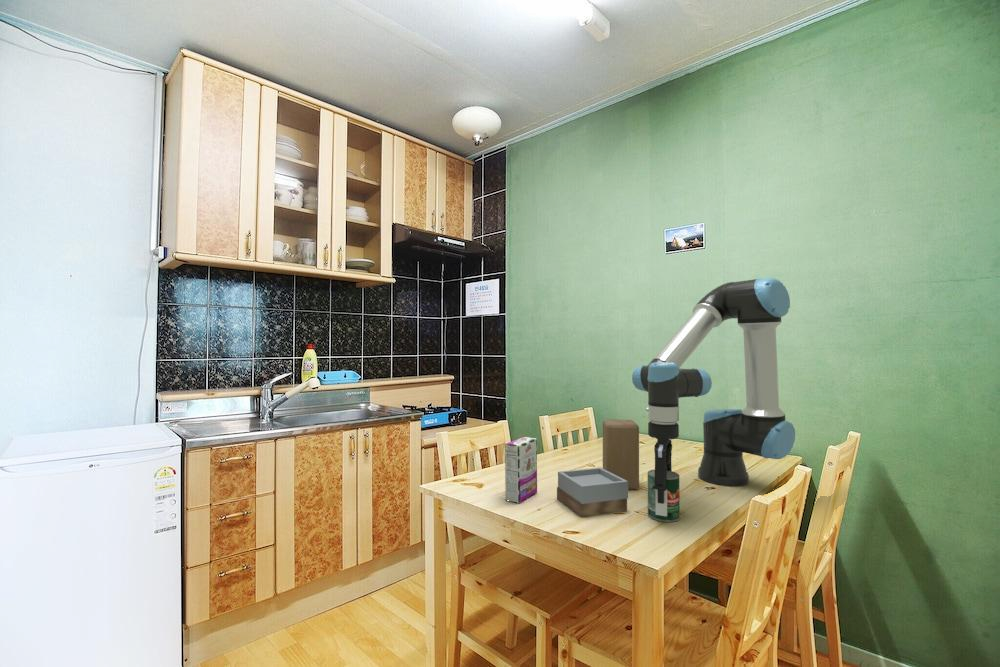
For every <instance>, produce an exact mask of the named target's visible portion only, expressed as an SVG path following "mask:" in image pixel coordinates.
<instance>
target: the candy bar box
mask: <svg viewBox="0 0 1000 667" xmlns="http://www.w3.org/2000/svg"><path fill="white" fill-rule="evenodd" d="M537 441H538V440H537V438H536V437H535V438H534V437H529V436H523V437H519V438H518V439H515V440H512V441H509V442H507V443H505V444H504V456H505V457H504V469H505V472H504V473H505V483H504V484H505V501H506V500H509V501H513V502H512V503H514V502H517V503H516V504H521V503H523V502H525V501H526V500H527V498H528V499H529V498H531V497H532V496H534V495H536V494H537V493H538V453H537V452H538V446H537V445H538V442H537ZM535 493H536V494H535ZM524 500H525V501H524ZM509 501H508V502H509ZM522 501H523V502H522Z"/></svg>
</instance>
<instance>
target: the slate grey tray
mask: <svg viewBox="0 0 1000 667" xmlns="http://www.w3.org/2000/svg"><path fill="white" fill-rule="evenodd" d="M557 487H558V488H560V489H561V490H562V491H564V492H565V493H567V494H568V495H570V496H571V497H573V498H574V499H575V500H577V501H578V502H580V503H581V504H586V503H594V502H602V501H610V500H618V499H626V498H627V499H629V489H628V481H627V480H625V479H623V478H621V477H619V476H617V475H615V474H613V473H611V472H609V471H607V470H605V469H603V467H593V468H582V469H571V470H561V471H557Z"/></svg>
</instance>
